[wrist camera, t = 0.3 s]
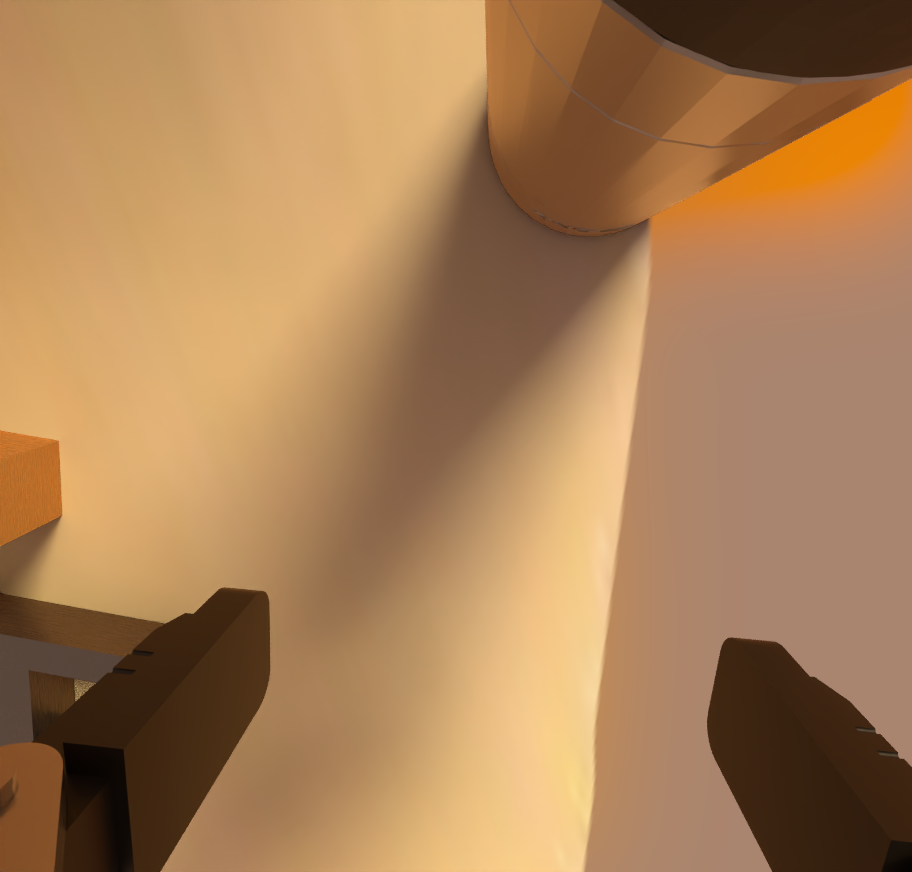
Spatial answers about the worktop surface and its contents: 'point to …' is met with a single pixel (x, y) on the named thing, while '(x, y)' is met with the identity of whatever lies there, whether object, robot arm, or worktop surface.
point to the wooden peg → (28, 484)
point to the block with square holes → (54, 659)
